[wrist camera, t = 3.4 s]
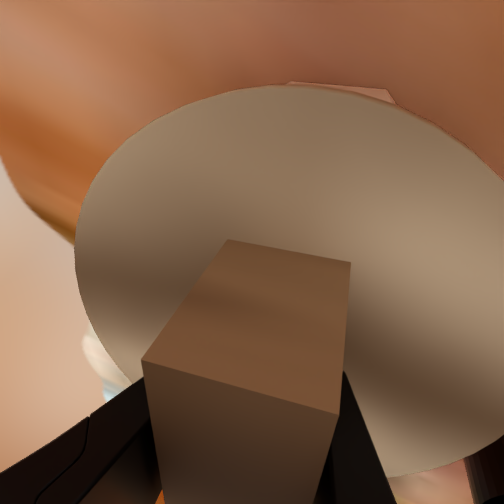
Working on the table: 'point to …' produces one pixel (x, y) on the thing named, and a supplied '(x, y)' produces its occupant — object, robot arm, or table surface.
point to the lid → (297, 287)
